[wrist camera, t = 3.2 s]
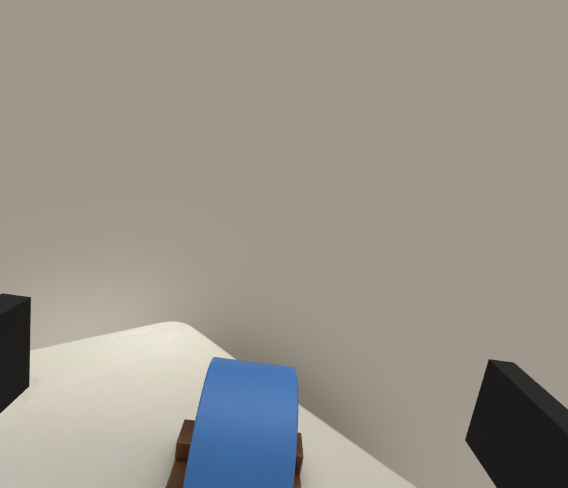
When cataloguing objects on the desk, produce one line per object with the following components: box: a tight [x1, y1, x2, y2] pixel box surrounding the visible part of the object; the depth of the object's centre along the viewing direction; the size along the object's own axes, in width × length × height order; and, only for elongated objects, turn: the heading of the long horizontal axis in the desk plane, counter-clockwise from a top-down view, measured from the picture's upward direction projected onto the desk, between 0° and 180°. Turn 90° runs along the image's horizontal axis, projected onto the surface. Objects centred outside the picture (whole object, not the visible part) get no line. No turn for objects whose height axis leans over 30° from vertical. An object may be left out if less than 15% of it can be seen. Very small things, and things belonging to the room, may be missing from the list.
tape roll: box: [183, 357, 298, 488], centre depth 23 cm, size 10×5×10 cm, turn 1°
